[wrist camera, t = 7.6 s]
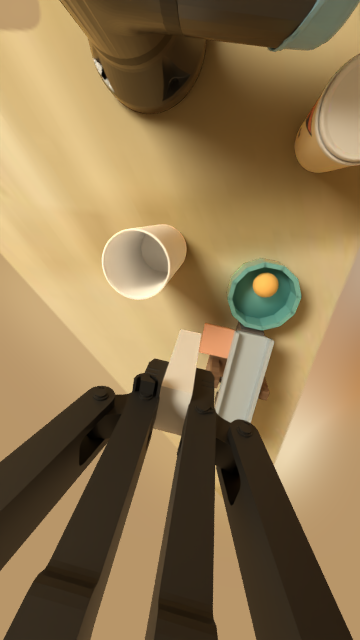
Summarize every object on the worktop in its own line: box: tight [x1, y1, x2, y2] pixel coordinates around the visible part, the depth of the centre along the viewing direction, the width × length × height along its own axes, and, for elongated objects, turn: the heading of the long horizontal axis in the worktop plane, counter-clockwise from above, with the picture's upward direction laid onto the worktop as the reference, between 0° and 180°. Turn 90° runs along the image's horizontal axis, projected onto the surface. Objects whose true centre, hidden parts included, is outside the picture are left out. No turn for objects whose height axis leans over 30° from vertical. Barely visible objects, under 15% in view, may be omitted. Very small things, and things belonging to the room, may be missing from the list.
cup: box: [102, 224, 187, 300], centre depth 37 cm, size 8×8×16 cm
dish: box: [227, 258, 301, 330], centre depth 42 cm, size 11×11×4 cm
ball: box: [253, 273, 279, 297], centre depth 41 cm, size 4×4×4 cm
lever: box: [199, 323, 275, 423], centre depth 44 cm, size 20×11×4 cm, turn 169°
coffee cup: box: [295, 54, 360, 173], centre depth 30 cm, size 9×9×12 cm
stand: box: [206, 321, 269, 404], centre depth 47 cm, size 19×11×8 cm, turn 169°
